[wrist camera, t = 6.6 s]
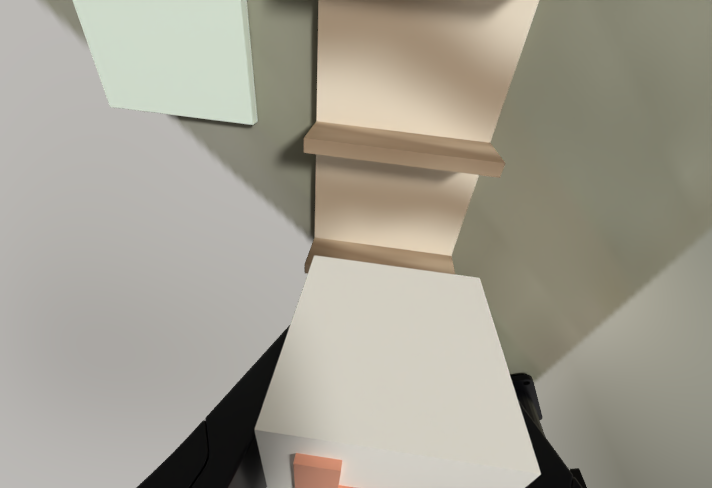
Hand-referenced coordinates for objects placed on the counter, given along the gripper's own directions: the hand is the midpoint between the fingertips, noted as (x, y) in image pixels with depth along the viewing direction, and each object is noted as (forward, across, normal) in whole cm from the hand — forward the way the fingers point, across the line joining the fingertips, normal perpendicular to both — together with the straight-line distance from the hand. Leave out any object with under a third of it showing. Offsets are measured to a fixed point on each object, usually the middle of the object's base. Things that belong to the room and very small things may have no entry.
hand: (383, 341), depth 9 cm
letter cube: (+1, 0, 0) cm, 1 cm away
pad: (+10, +10, -6) cm, 16 cm away
